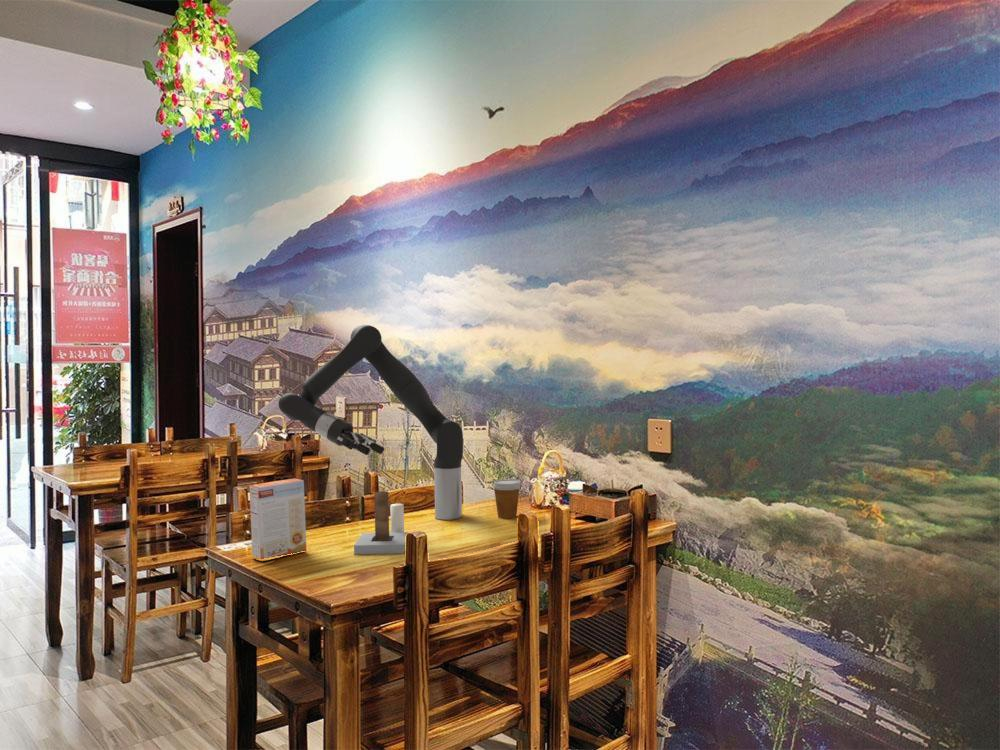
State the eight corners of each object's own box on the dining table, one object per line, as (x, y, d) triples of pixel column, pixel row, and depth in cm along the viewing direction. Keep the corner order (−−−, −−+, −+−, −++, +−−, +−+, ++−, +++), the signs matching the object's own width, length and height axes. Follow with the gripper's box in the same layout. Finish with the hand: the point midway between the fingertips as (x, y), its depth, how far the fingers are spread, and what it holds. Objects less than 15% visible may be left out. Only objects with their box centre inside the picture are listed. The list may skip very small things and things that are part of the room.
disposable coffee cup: (524, 518, 247) (523, 483, 246) (496, 520, 245) (496, 484, 244) (517, 512, 256) (516, 478, 256) (490, 514, 254) (489, 480, 253)
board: (362, 541, 221) (362, 533, 221) (409, 540, 221) (409, 532, 221) (354, 554, 207) (353, 545, 207) (403, 553, 207) (403, 544, 207)
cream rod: (392, 535, 227) (391, 503, 227) (405, 535, 227) (404, 503, 227) (390, 539, 223) (389, 506, 223) (403, 538, 223) (402, 506, 223)
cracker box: (296, 548, 214) (294, 477, 213) (307, 552, 209) (305, 479, 209) (250, 559, 204) (248, 484, 203) (260, 563, 200) (258, 486, 199)
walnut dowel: (376, 545, 216) (375, 491, 215) (390, 545, 216) (389, 491, 215) (374, 549, 212) (373, 494, 211) (388, 548, 212) (387, 493, 211)
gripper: (326, 417, 220) (369, 441, 215) (350, 418, 234) (391, 440, 228) (316, 440, 221) (359, 464, 216) (341, 439, 234) (382, 461, 229)
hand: (376, 451), depth 222 cm, fingers open, 8 cm apart
